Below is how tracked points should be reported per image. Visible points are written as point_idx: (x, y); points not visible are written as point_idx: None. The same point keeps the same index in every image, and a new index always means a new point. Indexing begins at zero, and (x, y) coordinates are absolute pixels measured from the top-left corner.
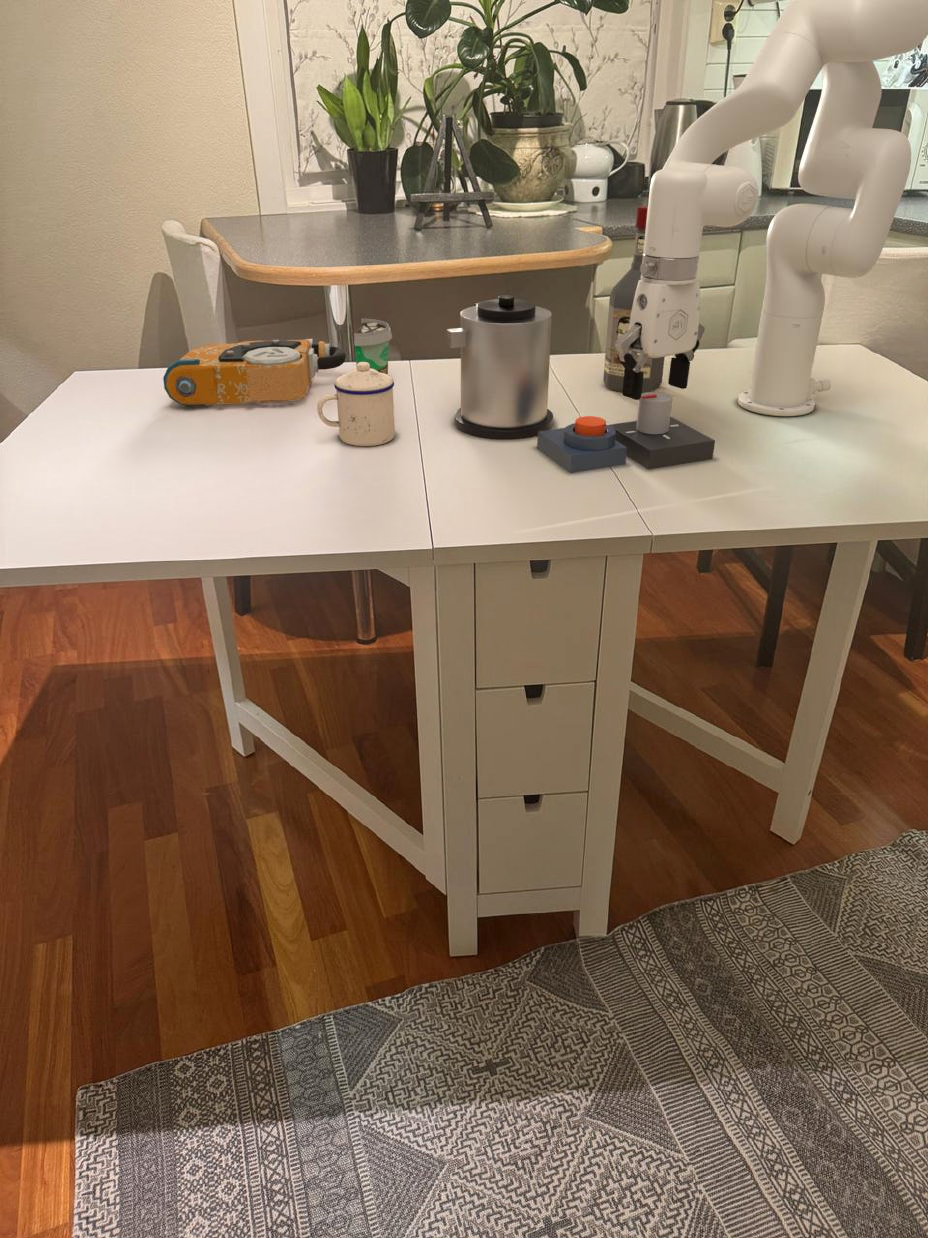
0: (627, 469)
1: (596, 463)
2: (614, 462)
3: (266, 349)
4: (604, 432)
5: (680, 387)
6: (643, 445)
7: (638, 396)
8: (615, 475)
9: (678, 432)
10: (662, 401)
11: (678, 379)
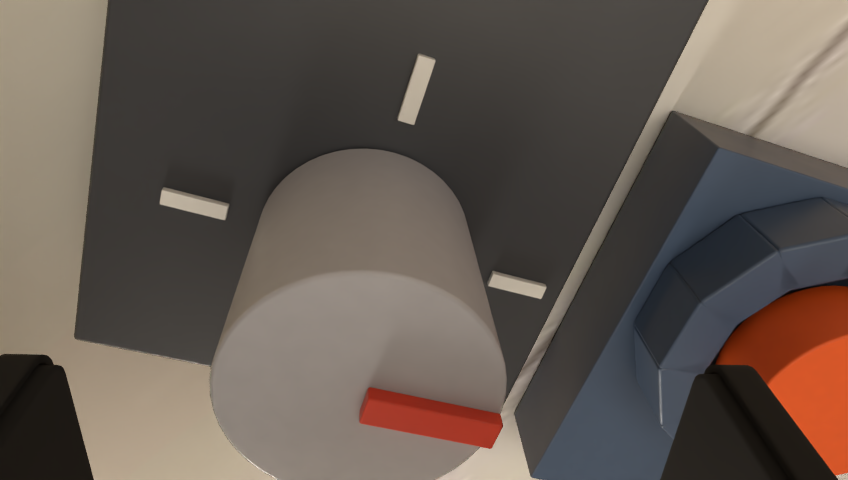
0: (719, 58)
1: (844, 173)
2: (743, 139)
3: None
4: (796, 300)
5: (66, 386)
6: (661, 83)
7: (762, 380)
8: (839, 40)
9: (262, 102)
10: (428, 285)
11: (38, 477)
